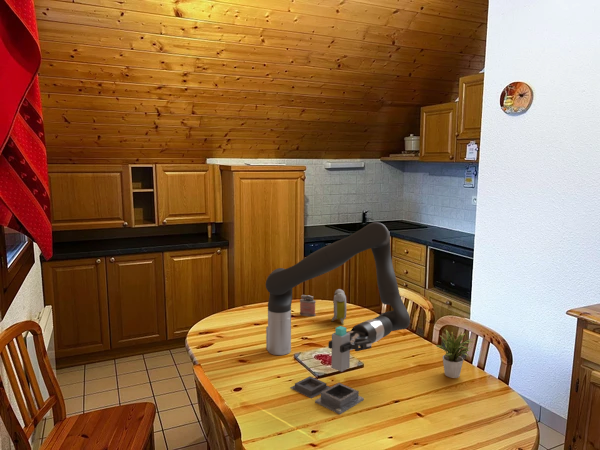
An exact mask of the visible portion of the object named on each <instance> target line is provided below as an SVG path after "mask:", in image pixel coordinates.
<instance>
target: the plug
mask: <svg viewBox="0 0 600 450" xmlns="http://www.w3.org/2000/svg"><path fill="white" fill-rule="evenodd" d="M335 332H336V333H335ZM335 332H334V333H332V334H331V340H332V348H331V369H334V370H337V371H338V372H344V371H346V370H348V369H349V368H350V367H351V365H350V362H351V361H350V360H351V359H350V357H351V356H350V355H351V350H348V351H346V352H343V353H341V352H340V346H341V345H343V344H345V343H347V342H348V343H349V342H350V334H348V333H346V332H347V327H345V326H343V325H342V326H341V325H340V326H337V327H335Z"/></svg>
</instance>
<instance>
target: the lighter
mask: <svg viewBox="0 0 600 450" xmlns="http://www.w3.org/2000/svg"><path fill="white" fill-rule="evenodd" d="M300 297H301V299H299V305H300V306H299V315H300V316H302V317H303V316H304V317H305V316H306V317H317V316H316V302H317V301H316V299H315V300H314V295H313V296H312V295H310V294H308V295H305V294H302V295H300Z"/></svg>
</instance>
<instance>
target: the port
mask: <svg viewBox="0 0 600 450" xmlns="http://www.w3.org/2000/svg"><path fill="white" fill-rule="evenodd" d="M329 387H330V388H328V389H326V390H324V391H322V392H321V394H320V397H319V398H317V399H315V400H314V401H315V403H314V404H317V405H319V406H322V407H323V408H325V409H327V410H329V411H332V412H334V413H335V414H337V415H342V414H344V413H345V412H347V411H349V410H350V409H352V408H353V407H355V406H356V405H358V404H360V403H361V402H364V400H365V397H363V396H361V395H359V393H360V392H359V390H357V389H355V388H352V387H350V386H348V385H345V384H343V383H341V382H338V383H336V384H334V385H331V386H329Z"/></svg>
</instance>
